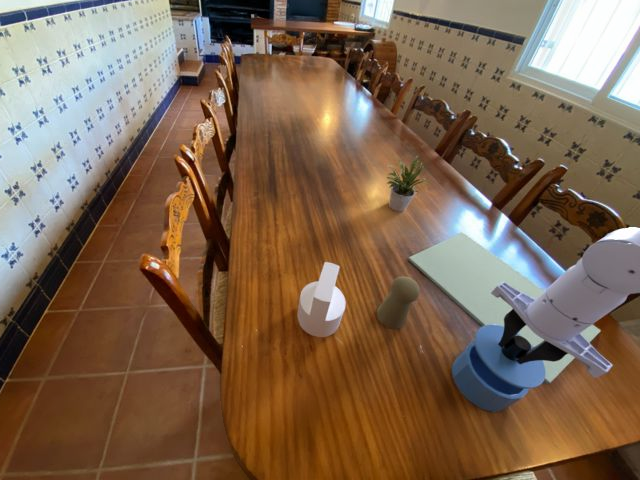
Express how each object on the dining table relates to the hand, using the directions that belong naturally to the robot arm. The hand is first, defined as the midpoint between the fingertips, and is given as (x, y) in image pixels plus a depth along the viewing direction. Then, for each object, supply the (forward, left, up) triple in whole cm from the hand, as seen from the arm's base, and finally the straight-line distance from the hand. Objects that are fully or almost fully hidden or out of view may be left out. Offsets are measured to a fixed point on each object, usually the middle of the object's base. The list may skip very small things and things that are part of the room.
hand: (512, 351), depth 48 cm
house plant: (+46, -25, -11) cm, 54 cm away
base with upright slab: (+24, +20, -11) cm, 33 cm away
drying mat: (+10, -21, -10) cm, 26 cm away
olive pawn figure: (+17, +6, -11) cm, 21 cm away
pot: (0, +1, -10) cm, 10 cm away
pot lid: (0, 0, -1) cm, 1 cm away
